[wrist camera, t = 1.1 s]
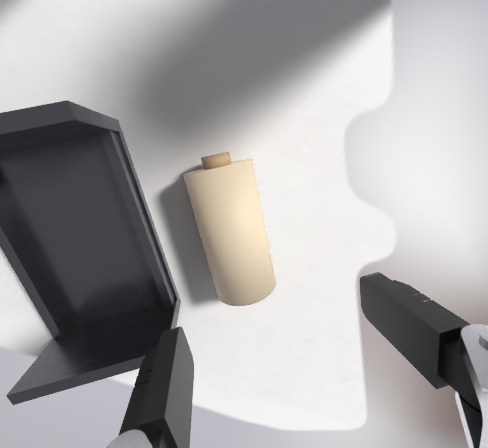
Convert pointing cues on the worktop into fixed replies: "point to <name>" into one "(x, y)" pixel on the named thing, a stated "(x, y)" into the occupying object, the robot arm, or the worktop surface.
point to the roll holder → (81, 246)
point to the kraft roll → (232, 228)
